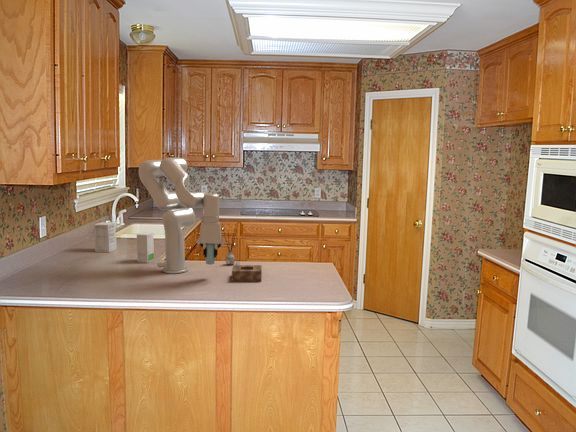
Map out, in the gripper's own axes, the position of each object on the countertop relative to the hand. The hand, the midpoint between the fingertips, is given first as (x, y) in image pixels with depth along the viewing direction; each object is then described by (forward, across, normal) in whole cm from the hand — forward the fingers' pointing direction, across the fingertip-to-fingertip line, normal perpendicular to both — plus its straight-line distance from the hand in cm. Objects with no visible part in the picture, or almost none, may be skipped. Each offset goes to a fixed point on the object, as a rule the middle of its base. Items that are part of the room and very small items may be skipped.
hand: (210, 256), depth 245 cm
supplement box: (+14, -69, +64) cm, 95 cm away
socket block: (+10, +18, -1) cm, 21 cm away
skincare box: (+13, -39, +36) cm, 55 cm away
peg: (+3, 0, 0) cm, 3 cm away
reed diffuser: (+11, +9, +28) cm, 32 cm away
